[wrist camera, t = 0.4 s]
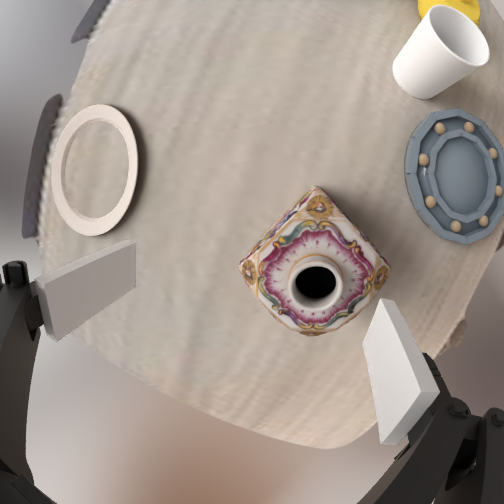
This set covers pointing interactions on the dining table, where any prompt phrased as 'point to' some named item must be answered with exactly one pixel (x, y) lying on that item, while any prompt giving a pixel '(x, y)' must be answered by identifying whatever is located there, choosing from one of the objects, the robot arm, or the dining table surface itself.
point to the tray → (455, 175)
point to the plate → (58, 165)
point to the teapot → (464, 3)
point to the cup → (440, 53)
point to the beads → (424, 161)
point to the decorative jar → (314, 267)
